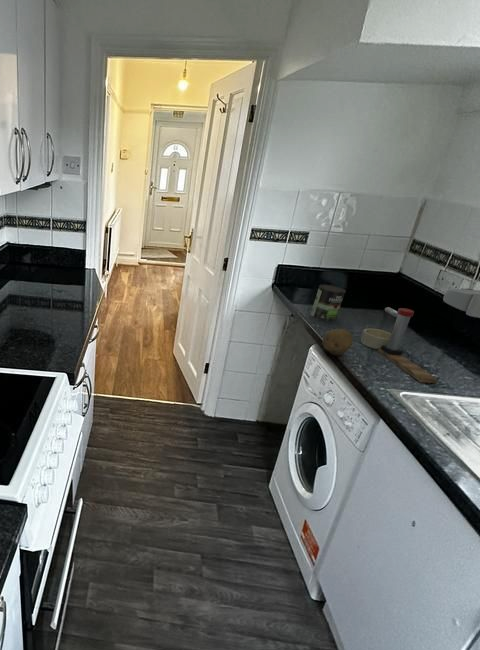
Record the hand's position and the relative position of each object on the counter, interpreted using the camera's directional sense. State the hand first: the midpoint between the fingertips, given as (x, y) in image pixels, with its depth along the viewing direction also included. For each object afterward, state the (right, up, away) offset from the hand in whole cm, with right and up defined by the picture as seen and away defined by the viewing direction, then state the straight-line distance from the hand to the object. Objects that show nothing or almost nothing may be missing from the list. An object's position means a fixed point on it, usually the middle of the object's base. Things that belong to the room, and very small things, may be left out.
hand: (464, 291), depth 121 cm
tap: (-2, -18, +30) cm, 35 cm away
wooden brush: (-3, -24, +20) cm, 31 cm away
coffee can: (-9, -6, +61) cm, 62 cm away
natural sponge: (-24, -20, +26) cm, 41 cm away
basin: (-2, -17, +36) cm, 39 cm away
